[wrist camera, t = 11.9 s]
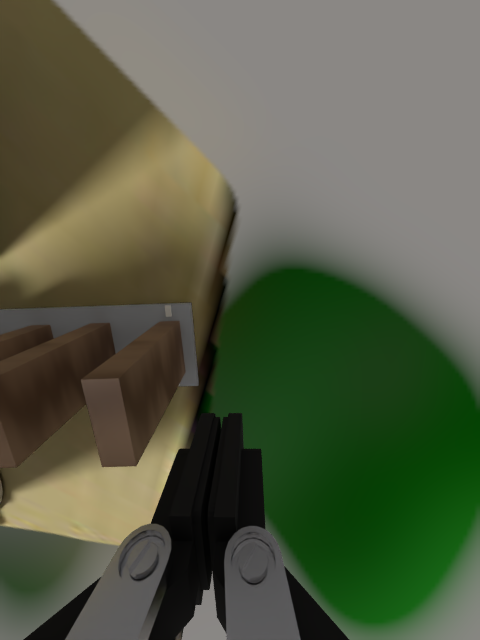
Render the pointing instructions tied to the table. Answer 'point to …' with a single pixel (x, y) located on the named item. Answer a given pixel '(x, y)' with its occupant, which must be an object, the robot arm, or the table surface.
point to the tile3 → (23, 339)
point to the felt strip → (112, 324)
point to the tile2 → (47, 388)
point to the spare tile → (134, 393)
